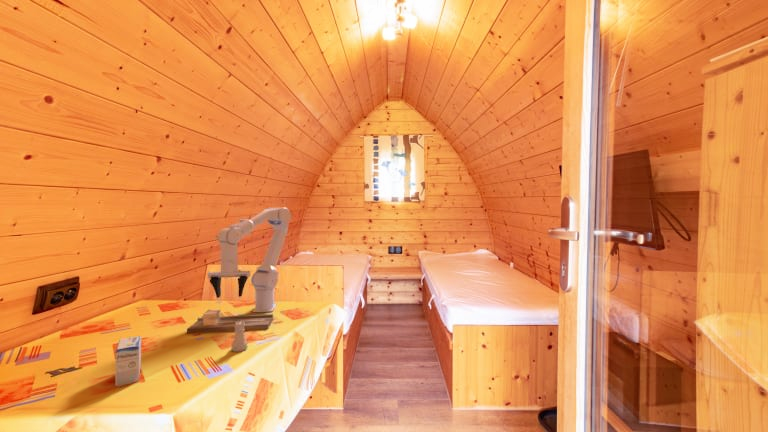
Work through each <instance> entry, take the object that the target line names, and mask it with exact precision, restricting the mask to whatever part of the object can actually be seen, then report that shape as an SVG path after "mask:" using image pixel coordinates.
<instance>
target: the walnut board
mask: <svg viewBox="0 0 768 432" xmlns="http://www.w3.org/2000/svg"><path fill="white" fill-rule="evenodd" d="M237 321H238V323H239V322H240V321H244V323H245V324H246V325H245V326H244V329H245V330H244V331H253V330H255V331H256V330H257V331H258V330H269V328H270V326H271V324H272V323H273V321H274V314H273V313H269V314H267V313H266V314H265V313H264V314H250V315H249V314H247V315H225V316H221V320H220V321H219V322H218V323H217V324H216V325H203V316H202V317H198V318H197V321H195V322H194V323H193V324H191V325H189V327H187V329H186V334H200V333H202V334H203V333H218V332H235V328H234V325H235V322H237Z"/></svg>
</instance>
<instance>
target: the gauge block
mask: <svg viewBox="0 0 768 432" xmlns="http://www.w3.org/2000/svg"><path fill="white" fill-rule="evenodd" d="M221 310H222V309H221V308H217V309H216V308H213V309H208V310H206V311H205V312H204V313H202V317H203V325H216V324H217V323H218V322H219V321H220V320H221V317H222V316H221Z"/></svg>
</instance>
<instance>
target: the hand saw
mask: <svg viewBox="0 0 768 432" xmlns="http://www.w3.org/2000/svg"><path fill="white" fill-rule="evenodd" d="M83 368H84V367H83V366H80V367H79V366H78V367H75V366H74V365H73V366H70V367H61V368H57V369H54V370H49V371H46V372H45V373H44V374H50V375H51V376H50V378H53V377H56V376H59V375H63V374H66V373H70V372H71V373H72V372H74V371H78V370H81V369H83Z"/></svg>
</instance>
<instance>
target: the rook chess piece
mask: <svg viewBox="0 0 768 432" xmlns="http://www.w3.org/2000/svg"><path fill="white" fill-rule="evenodd" d="M245 325H246V324H245V323H244V321H240V322H239V323H238V321H237V322H235V325H234V328H235V331H234V339H233V342H232V343H231V351H232V352H233V353H234V352H235V353H239V352H243V351H246V349H247V348H248V341H247V340H246V337H245V331H246V330H245V329H244V326H245Z"/></svg>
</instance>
